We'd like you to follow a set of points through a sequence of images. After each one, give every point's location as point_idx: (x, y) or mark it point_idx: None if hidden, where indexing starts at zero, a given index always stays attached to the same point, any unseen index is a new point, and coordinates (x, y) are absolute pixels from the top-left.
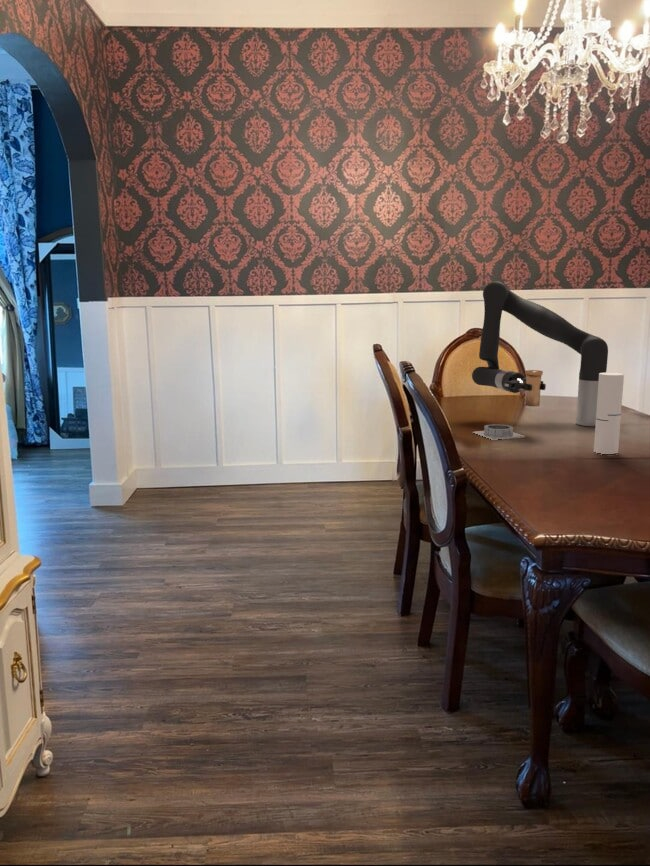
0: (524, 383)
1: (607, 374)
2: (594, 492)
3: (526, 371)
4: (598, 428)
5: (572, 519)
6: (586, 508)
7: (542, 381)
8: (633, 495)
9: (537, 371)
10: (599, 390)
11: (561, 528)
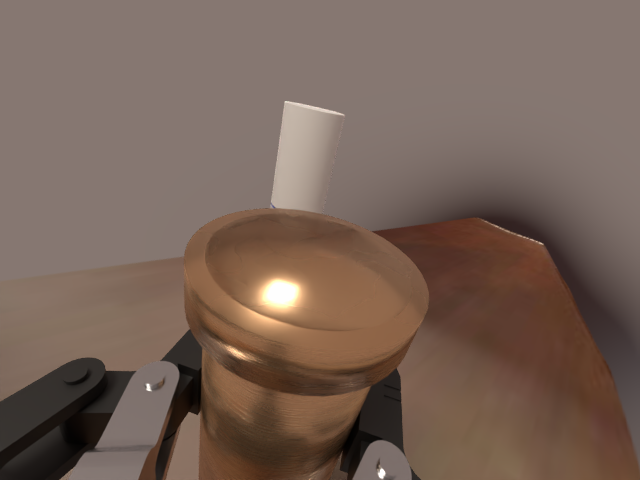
0: (380, 426)
1: (333, 112)
2: (451, 245)
3: (427, 296)
4: None
5: (505, 240)
6: (482, 240)
7: (79, 365)
8: (421, 228)
9: (310, 229)
10: (332, 160)
11: (521, 240)
